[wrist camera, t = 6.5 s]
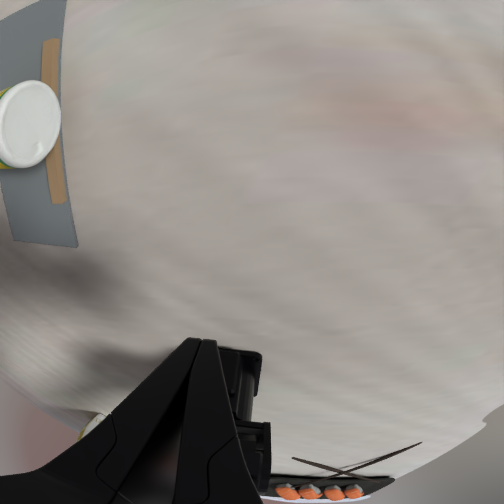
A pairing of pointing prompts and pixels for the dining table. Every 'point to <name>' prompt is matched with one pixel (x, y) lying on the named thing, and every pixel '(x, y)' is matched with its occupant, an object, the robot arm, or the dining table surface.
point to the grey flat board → (52, 166)
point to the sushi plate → (328, 484)
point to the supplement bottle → (27, 124)
